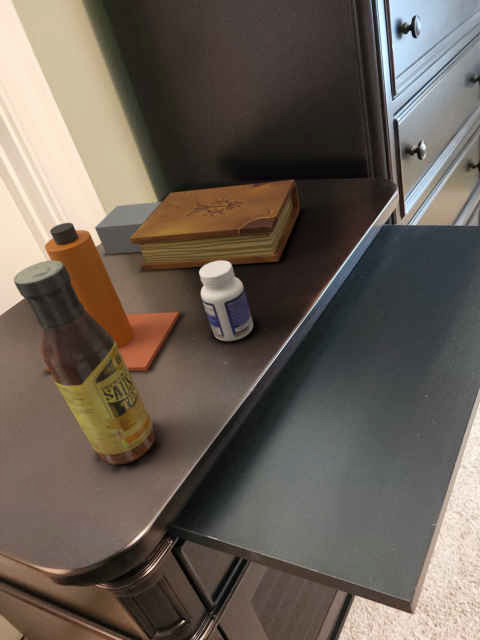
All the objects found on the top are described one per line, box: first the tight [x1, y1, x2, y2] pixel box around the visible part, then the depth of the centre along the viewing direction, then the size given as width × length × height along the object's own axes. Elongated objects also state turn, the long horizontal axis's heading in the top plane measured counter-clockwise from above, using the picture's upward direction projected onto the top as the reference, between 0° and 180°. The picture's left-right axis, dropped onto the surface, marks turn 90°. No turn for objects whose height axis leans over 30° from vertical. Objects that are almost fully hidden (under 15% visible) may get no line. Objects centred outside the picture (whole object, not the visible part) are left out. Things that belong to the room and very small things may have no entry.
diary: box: [130, 179, 301, 272], centre depth 87 cm, size 23×19×6 cm
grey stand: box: [94, 201, 163, 255], centre depth 92 cm, size 9×9×5 cm
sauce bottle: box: [13, 259, 156, 466], centre depth 48 cm, size 7×6×20 cm
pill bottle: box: [198, 261, 254, 342], centre depth 64 cm, size 5×5×9 cm
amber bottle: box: [44, 222, 134, 348], centre depth 64 cm, size 5×5×16 cm
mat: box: [45, 311, 180, 373], centre depth 69 cm, size 14×12×1 cm
